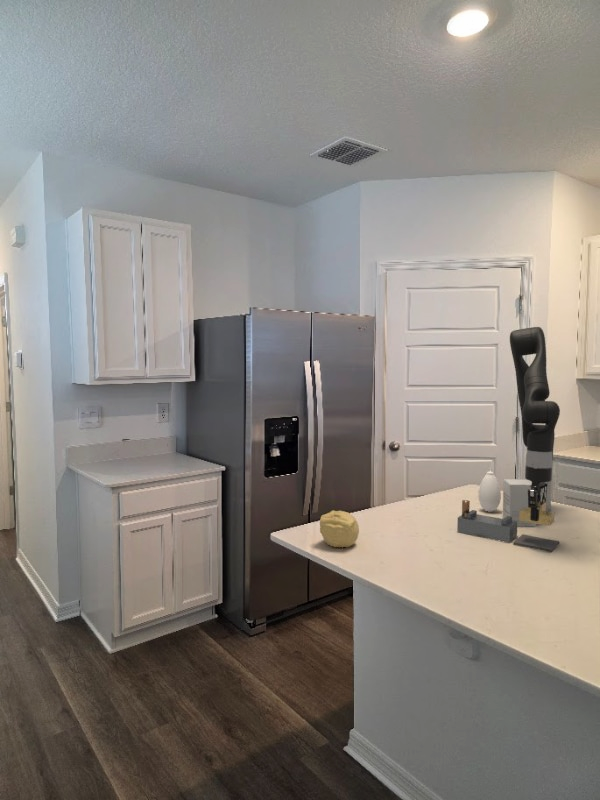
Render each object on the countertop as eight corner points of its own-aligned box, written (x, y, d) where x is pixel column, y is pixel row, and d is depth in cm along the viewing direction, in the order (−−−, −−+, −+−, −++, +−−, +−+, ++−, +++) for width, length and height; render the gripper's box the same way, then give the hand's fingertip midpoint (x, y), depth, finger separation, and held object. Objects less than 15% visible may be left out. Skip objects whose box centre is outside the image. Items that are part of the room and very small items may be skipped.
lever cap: (523, 516, 170) (524, 498, 170) (554, 522, 165) (554, 503, 164) (519, 520, 166) (520, 501, 166) (550, 525, 161) (550, 506, 160)
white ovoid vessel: (474, 509, 205) (475, 463, 204) (491, 508, 208) (492, 462, 206) (487, 515, 198) (488, 467, 197) (504, 513, 200) (505, 466, 199)
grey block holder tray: (466, 526, 184) (466, 498, 183) (516, 536, 173) (517, 506, 173) (457, 532, 178) (458, 502, 177) (509, 542, 167) (510, 511, 166)
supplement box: (527, 519, 192) (528, 479, 191) (535, 527, 184) (537, 484, 182) (501, 518, 193) (502, 478, 192) (508, 526, 184) (510, 483, 183)
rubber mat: (522, 536, 173) (522, 534, 173) (559, 543, 166) (559, 541, 166) (513, 544, 165) (513, 542, 165) (551, 552, 159) (551, 549, 159)
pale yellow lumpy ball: (315, 547, 162) (315, 513, 161) (330, 536, 173) (330, 503, 172) (350, 553, 157) (350, 518, 156) (363, 541, 168) (364, 508, 167)
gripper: (532, 460, 172) (530, 511, 173) (519, 466, 161) (517, 521, 162) (557, 463, 168) (555, 515, 169) (545, 469, 156) (543, 526, 157)
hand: (536, 518), depth 165 cm, fingers closed on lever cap, 5 cm apart
